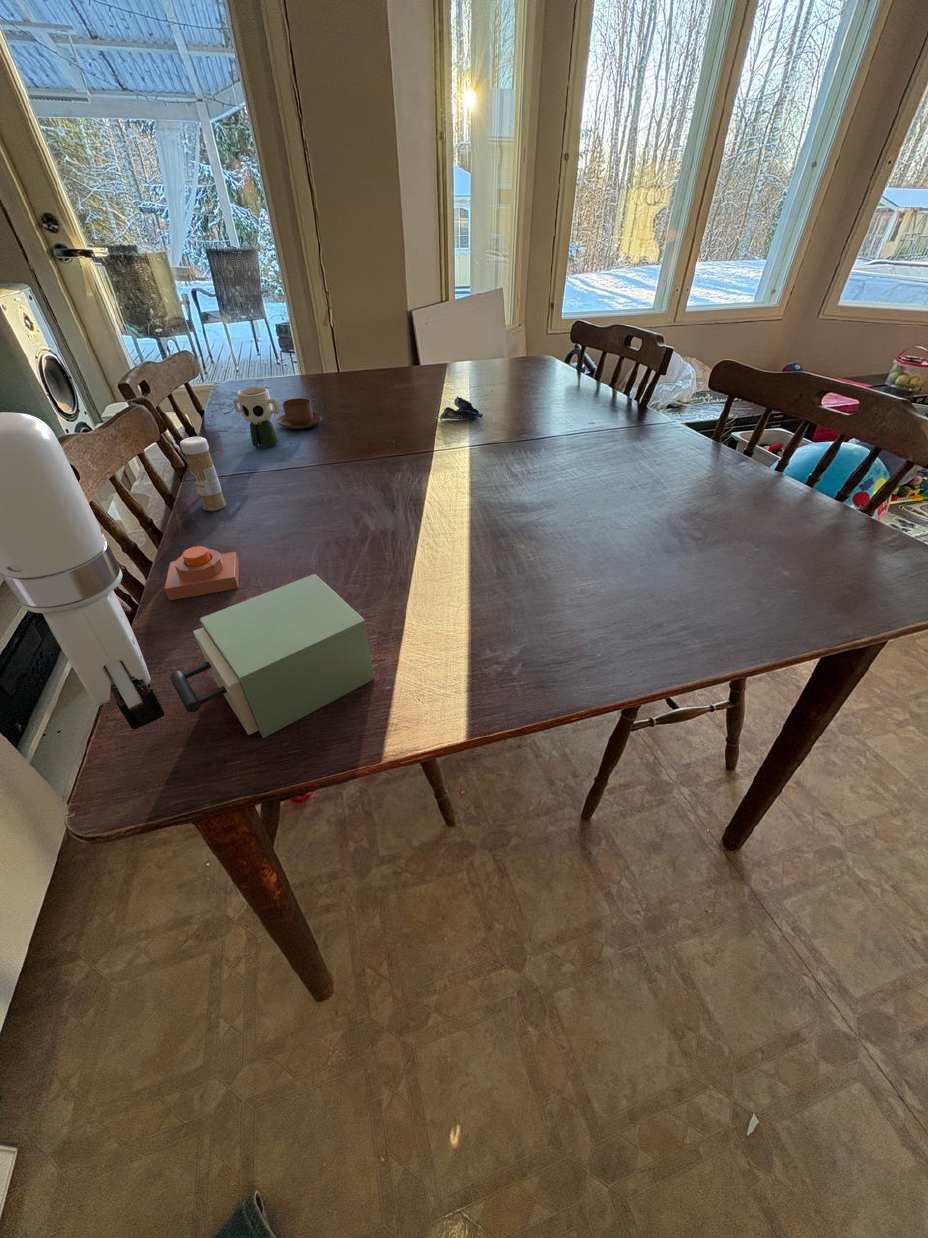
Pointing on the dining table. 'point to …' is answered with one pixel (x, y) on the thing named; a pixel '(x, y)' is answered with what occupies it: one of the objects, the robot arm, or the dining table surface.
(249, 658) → the fryer
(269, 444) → the character mug
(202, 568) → the control block
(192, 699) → the fryer drawer
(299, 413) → the cup and saucer
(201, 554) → the button
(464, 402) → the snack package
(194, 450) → the sprinkles bottle
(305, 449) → the dining table surface
